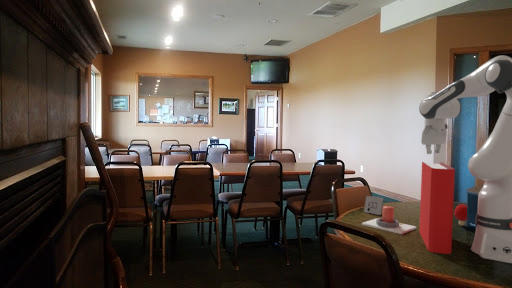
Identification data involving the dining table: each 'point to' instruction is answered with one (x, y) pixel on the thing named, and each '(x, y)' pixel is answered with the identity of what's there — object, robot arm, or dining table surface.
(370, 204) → the electrical switch
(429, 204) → the book
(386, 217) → the lockout cap
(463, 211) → the red mushroom
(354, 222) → the dining table surface
